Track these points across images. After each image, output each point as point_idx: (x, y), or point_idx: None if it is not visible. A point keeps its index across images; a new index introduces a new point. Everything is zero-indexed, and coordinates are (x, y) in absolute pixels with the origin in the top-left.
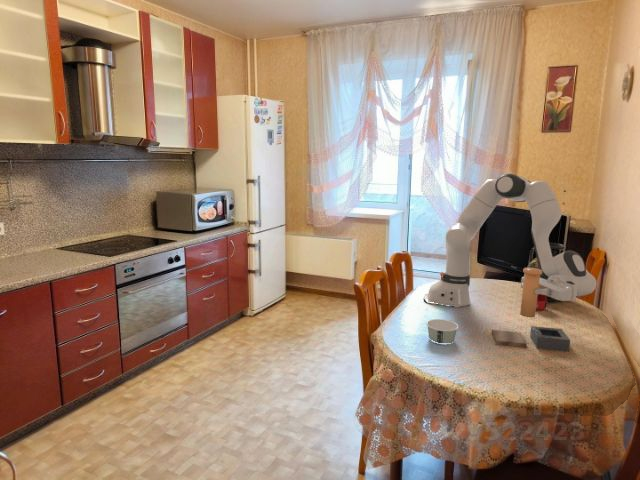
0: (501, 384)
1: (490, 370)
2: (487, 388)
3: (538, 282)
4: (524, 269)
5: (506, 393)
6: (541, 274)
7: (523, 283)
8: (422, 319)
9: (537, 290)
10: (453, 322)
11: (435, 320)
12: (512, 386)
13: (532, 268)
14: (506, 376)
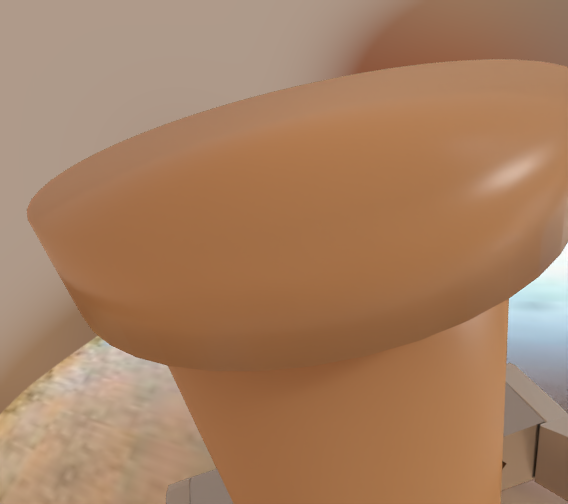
0: (48, 421)
1: (129, 413)
2: (55, 385)
3: (213, 460)
4: (297, 86)
5: (8, 421)
6: (92, 329)
7: (535, 385)
8: (561, 279)
9: (172, 499)
10: None
11: None
12: (21, 447)
13: (443, 99)
14: (75, 449)
